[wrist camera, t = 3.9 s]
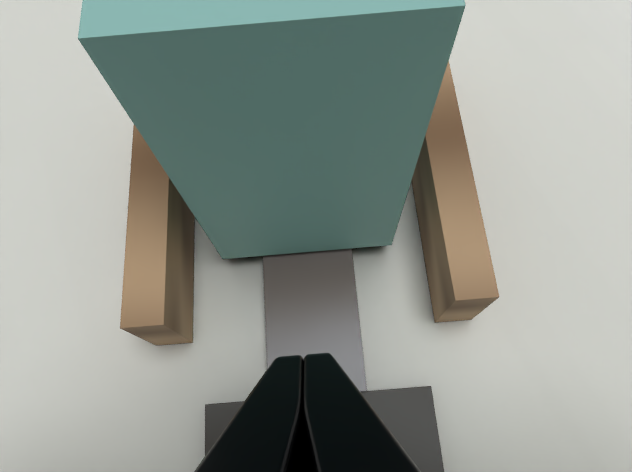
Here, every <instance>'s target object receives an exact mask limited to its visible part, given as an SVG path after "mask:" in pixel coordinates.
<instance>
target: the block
mask: <svg viewBox="0 0 632 472" xmlns="http://www.w3.org/2000/svg"><path fill="white" fill-rule="evenodd" d="M464 9H465V1H464V0H83V2H82V10H81V18H80V26H79V34H78V39H79V41H80V42H81V44H82V45H83V47H84V48H85V50H86V51H87V53H88V55H89V56H90V58H91V59H92V61H93V62H94V64H95V65H96V67H97V68H98V70H99V71H100V73H101V74H102V76H103V77H104V79H105V80H106V82H107V83H108V85H109V87H110V88H111V90H112V91H113V93H114V94H115V96H116V97H117V99H118V100H119V102H120V103H121V105H122V106H123V108H124V109H125V111H126V112H127V114H128V115H129V117H130V119H131V120H132V122H133V123H134V125H135V126H136V128H137V129H138V131H139V132H140V134H141V135H142V137H143V138H144V140H145V141H146V143H147V144H148V146H149V148H150V149H151V151H152V152H153V154H154V155H155V157H156V158H157V160H158V161H159V163H160V164H161V166H162V167H163V169H164V170H165V172H166V173H167V175H168V176H169V178H170V180H171V181H172V183H173V184H174V186H175V187H176V189H177V190H178V192H179V193H180V195H181V196H182V198H183V199H184V201H185V202H186V204H187V205H188V207H189V209H190V210H191V212H192V213H193V215H194V216H195V218H196V219H197V221H198V222H199V224H200V225H201V227H202V228H203V230H204V231H205V233H206V234H207V236H208V237H209V239H210V241H211V242H212V244H213V245H214V247H215V248H216V250H217V251H218V253H219V254H220V256H221V257H222V259H230V258H242V257H254V256H266V255H278V254H290V253H302V252H314V251H326V250H338V249H350V248H362V247H374V246H386V245H392V242H393V238H394V235H395V232H396V229H397V225H398V222H399V219H400V216H401V212H402V209H403V206H404V203H405V199H406V196H407V193H408V190H409V187H410V183H411V180H412V177H413V174H414V170H415V167H416V164H417V161H418V157H419V154H420V151H421V148H422V144H423V141H424V138H425V135H426V132H427V128H428V125H429V122H430V119H431V115H432V112H433V109H434V106H435V102H436V99H437V96H438V93H439V90H440V86H441V83H442V80H443V77H444V73H445V70H446V67H447V64H448V60H449V57H450V54H451V51H452V47H453V44H454V41H455V38H456V35H457V31H458V28H459V25H460V22H461V18H462V15H463V12H464Z"/></svg>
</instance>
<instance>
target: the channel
mask: <svg viewBox="0 0 632 472" xmlns="http://www.w3.org/2000/svg"><path fill="white" fill-rule="evenodd" d="M412 186H413V192H414V198H415V204H416V211H417V217H418V223H419V229H420V235H421V241H422V247H423V253H424V259H425V266H426V272H427V278H428V284H429V290H430V296H431V302H432V308H433V315H434V321H435V322H447V321H459V320H471V319H472V318H474V317H475V316H476V315H477V314H479V313H480V312H481V311H482V310H484V309H485V308H486V307H487V306H489V305H490V304H491V303H492V302H494V301H495V300H496V299H497V298H499V293H498V289H497V284H496V279H495V275H494V270H493V265H492V261H491V256H490V251H489V247H488V242H487V237H486V233H485V228H484V223H483V219H482V214H481V209H480V205H479V200H478V195H477V191H476V186H475V181H474V177H473V172H472V168H471V163H470V158H469V154H468V149H467V144H466V140H465V135H464V130H463V126H462V121H461V116H460V112H459V107H458V102H457V98H456V93H455V88H454V84H453V79H452V74H451V70H450V65H449V60H448V64H447V67H446V70H445V73H444V77H443V80H442V83H441V86H440V90H439V93H438V96H437V99H436V102H435V106H434V109H433V112H432V115H431V119H430V122H429V125H428V128H427V132H426V135H425V138H424V141H423V144H422V148H421V151H420V154H419V157H418V161H417V164H416V167H415V170H414V174H413V177H412ZM263 271H264V297H265V322H266V348H267V369H268V368H269V366H270V365H271V364H272V362H273V361H274V360H275V359H276V358H277V357H280V356H292V355H300V356H302V357H303V360H304V357H305V356H306V355H307V354H317V353H330V354H331V355H332V356H333V357H334V358H335V359H336V361H337V362H338V363H339V365H340V366H341V367H342V369H343V370H344V371H345V373H346V374H347V375H348V377H349V378H350V379H351V380H352V382H353V383H354V384H355V386H356V387H357V388H358V390H359V391H360V392H361V394H362V395H363V396H364V398H365V399H366V400H367V402H368V403H369V404H370V405H371V407H372V408H373V409H374V411H375V412H376V413H377V415H378V416H379V417H380V419H381V420H382V421H383V423H384V424H385V425H386V426H387V428H388V429H389V430H390V432H391V433H392V434H393V436H394V437H395V438H396V440H397V441H398V442H399V444H400V445H401V446H402V448H403V449H404V450H405V451H406V453H407V454H408V455H409V457H410V458H411V459H412V461H413V462H414V463H415V465H416V466H417V467H418V469H419V470H420V471H421V472H444V468H443V461H442V455H441V448H440V442H439V435H438V429H437V422H436V416H435V409H434V403H433V396H432V390H431V386H426V387H414V388H402V389H390V390H378V391H367V386H366V377H365V368H364V358H363V349H362V340H361V331H360V321H359V312H358V303H357V294H356V285H355V275H354V266H353V257H352V248H350V249H338V250H326V251H314V252H302V253H290V254H278V255H266V256H263ZM193 286H194V215H193V213H192V212H191V210H190V209H189V207H188V205H187V204H186V202H185V201H184V199H183V198H182V196H181V195H180V193H179V192H178V190H177V189H176V187H175V186H174V184H173V183H172V181H171V180H170V178H169V176H168V175H167V173H166V172H165V170H164V169H163V167H162V166H161V164H160V163H159V161H158V160H157V158H156V157H155V155H154V154H153V152H152V151H151V149H150V148H149V146H148V144H147V143H146V141H145V140H144V138H143V137H142V135H141V134H140V132H139V131H138V129H137V128H136V126H135V125H134V128H133V143H132V158H131V173H130V188H129V203H128V218H127V233H126V248H125V262H124V277H123V292H122V307H121V322H120V328H121V329H123V330H125V331H127V332H129V333H131V334H133V335H135V336H138V337H140V338H142V339H144V340H146V341H148V342H150V343H152V344H154V345H168V344H180V343H192V342H193ZM243 403H244V401H243V402H231V403H219V404H207V405H205V456H206V455H207V453H208V452H209V450H210V449H211V448H212V446H213V445H214V443H215V442H216V441H217V439H218V438H219V436H220V435H221V434H222V432H223V431H224V429H225V428H226V427H227V425H228V424H229V422H230V421H231V420H232V418H233V417H234V415H235V414H236V413H237V411H238V410H239V408H240V407H241V406H242V404H243Z"/></svg>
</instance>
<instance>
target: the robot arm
mask: <svg viewBox="0 0 632 472" xmlns="http://www.w3.org/2000/svg"><path fill="white" fill-rule="evenodd" d="M194 472H421V471H420V470H419V469H418V467H417V466H416V465H415V463H414V462H413V461H412V459H411V458H410V457H409V455H408V454H407V453H406V451H405V450H404V449H403V448H402V446H401V445H400V444H399V442H398V441H397V440H396V438H395V437H394V436H393V434H392V433H391V432H390V430H389V429H388V428H387V426H386V425H385V424H384V423H383V421H382V420H381V419H380V417H379V416H378V415H377V413H376V412H375V411H374V409H373V408H372V407H371V405H370V404H369V403H368V402H367V400H366V399H365V398H364V396H363V395H362V394H361V392H360V391H359V390H358V388H357V387H356V386H355V384H354V383H353V382H352V380H351V379H350V378H349V377H348V375H347V374H346V373H345V371H344V370H343V369H342V367H341V366H340V365H339V363H338V362H337V361H336V359H335V358H334V357H333V356H332V355H331V354H330V353H317V354H307V355H306V356H305V357H304V360H303V357H302V356H300V355H292V356H280V357H277V358H276V359H275V360H274V361H273V362H272V364H271V365H270V366H269V368H268V369H267V371H266V372H265V373H264V375H263V376H262V378H261V379H260V380H259V382H258V383H257V385H256V386H255V387H254V389H253V390H252V392H251V393H250V394H249V396H248V397H247V399H246V400H245V401H244V403H243V404H242V406H241V407H240V408H239V410H238V411H237V413H236V414H235V415H234V417H233V418H232V420H231V421H230V422H229V424H228V425H227V427H226V428H225V429H224V431H223V432H222V434H221V435H220V436H219V438H218V439H217V441H216V442H215V443H214V445H213V446H212V448H211V449H210V450H209V452H208V453H207V455H206V456H205V457H204V459H203V460H202V462H201V463H200V464H199V466H198V467H197V469H196V470H195V471H194Z"/></svg>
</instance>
